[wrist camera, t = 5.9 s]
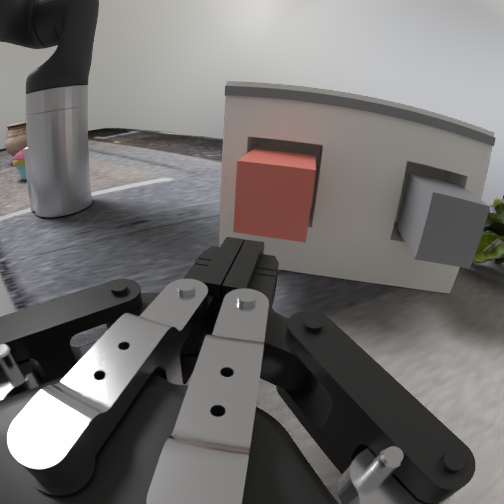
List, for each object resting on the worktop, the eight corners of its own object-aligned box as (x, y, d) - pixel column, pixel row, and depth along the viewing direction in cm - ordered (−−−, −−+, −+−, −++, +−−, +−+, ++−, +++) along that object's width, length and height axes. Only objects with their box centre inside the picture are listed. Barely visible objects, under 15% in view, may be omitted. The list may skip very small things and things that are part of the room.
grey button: (414, 259, 20) (433, 192, 18) (396, 227, 26) (408, 172, 23) (470, 268, 20) (490, 206, 17) (444, 236, 25) (458, 184, 23)
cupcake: (35, 171, 62) (32, 123, 56) (55, 172, 60) (52, 120, 54) (8, 181, 54) (4, 130, 49) (27, 183, 52) (22, 127, 47)
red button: (233, 232, 22) (237, 160, 20) (249, 205, 27) (254, 148, 25) (305, 242, 21) (315, 170, 19) (307, 213, 27) (315, 155, 24)
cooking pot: (79, 151, 84) (78, 113, 78) (34, 166, 67) (32, 121, 61) (33, 153, 88) (31, 119, 82) (-8, 167, 71) (-11, 129, 66)
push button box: (217, 261, 30) (225, 81, 22) (237, 228, 37) (246, 86, 30) (450, 295, 26) (495, 133, 19) (427, 257, 34) (458, 124, 26)
